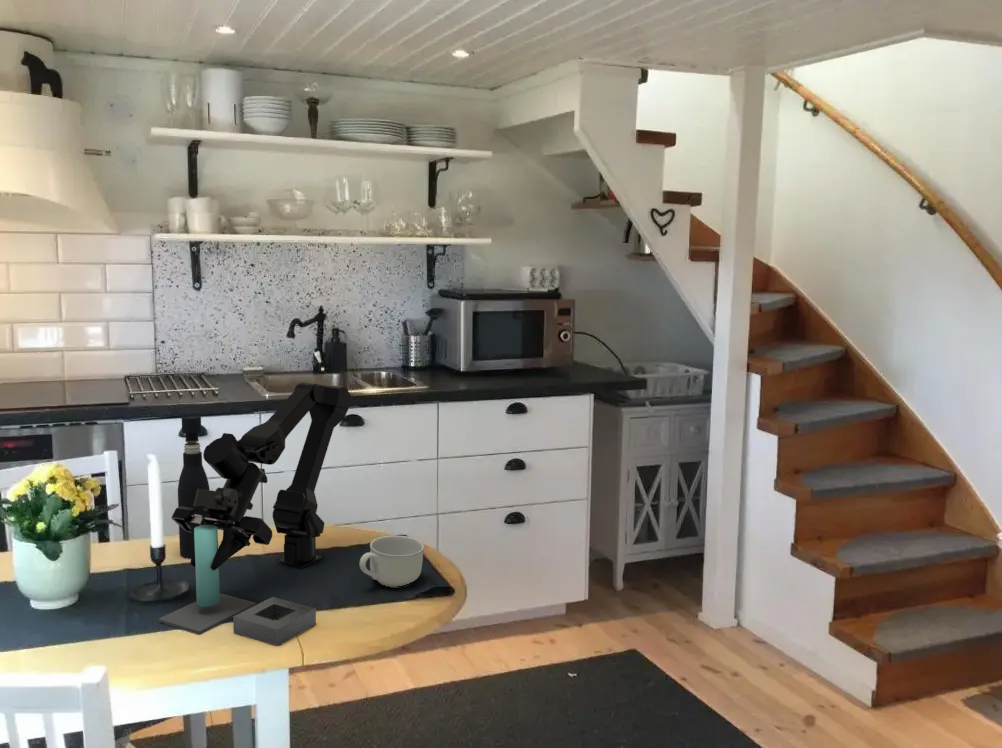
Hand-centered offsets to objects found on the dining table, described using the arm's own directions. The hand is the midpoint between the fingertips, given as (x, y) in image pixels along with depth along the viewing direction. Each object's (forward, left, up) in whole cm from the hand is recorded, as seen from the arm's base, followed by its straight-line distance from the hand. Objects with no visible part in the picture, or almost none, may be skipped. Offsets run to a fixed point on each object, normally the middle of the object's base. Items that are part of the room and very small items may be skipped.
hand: (202, 567), depth 164 cm
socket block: (-3, +14, -9) cm, 17 cm away
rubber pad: (-1, 0, -9) cm, 9 cm away
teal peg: (-1, 0, -7) cm, 7 cm away
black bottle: (-22, -25, -10) cm, 35 cm away
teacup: (-30, +20, -10) cm, 37 cm away
